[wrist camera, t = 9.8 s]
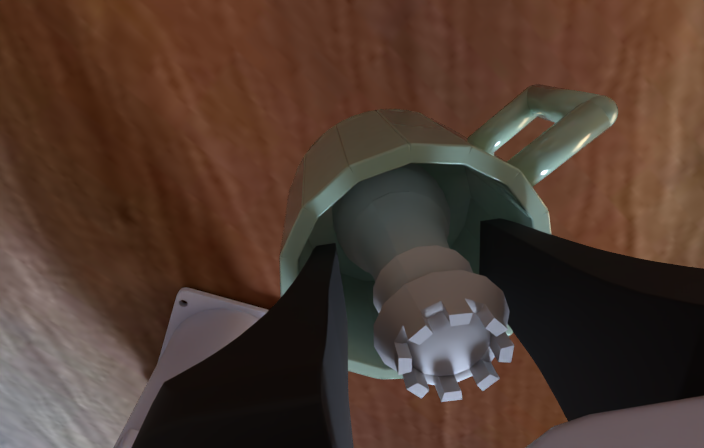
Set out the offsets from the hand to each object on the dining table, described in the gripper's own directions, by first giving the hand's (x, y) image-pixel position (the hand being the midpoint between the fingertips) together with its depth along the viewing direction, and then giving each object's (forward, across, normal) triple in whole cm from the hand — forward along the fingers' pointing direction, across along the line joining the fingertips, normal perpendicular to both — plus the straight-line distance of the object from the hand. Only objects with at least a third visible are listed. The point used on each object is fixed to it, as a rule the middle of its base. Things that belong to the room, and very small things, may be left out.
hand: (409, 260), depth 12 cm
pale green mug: (+4, -1, -1) cm, 4 cm away
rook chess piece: (+4, 0, 0) cm, 4 cm away
